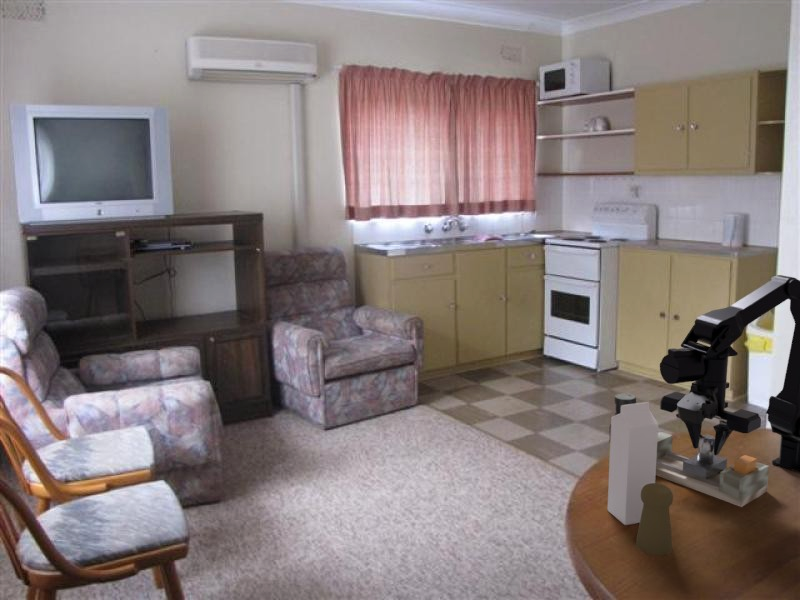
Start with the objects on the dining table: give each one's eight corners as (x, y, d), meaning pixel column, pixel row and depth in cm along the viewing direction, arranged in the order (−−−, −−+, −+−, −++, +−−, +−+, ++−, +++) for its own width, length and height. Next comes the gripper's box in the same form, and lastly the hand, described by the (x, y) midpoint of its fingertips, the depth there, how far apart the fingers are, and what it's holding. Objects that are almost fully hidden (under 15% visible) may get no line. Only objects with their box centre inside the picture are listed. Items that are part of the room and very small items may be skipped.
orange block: (743, 469, 145) (744, 454, 144) (755, 473, 143) (756, 458, 142) (733, 474, 142) (734, 460, 142) (745, 478, 141) (746, 464, 140)
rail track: (659, 454, 163) (660, 431, 162) (766, 491, 145) (769, 465, 144) (632, 466, 157) (633, 442, 156) (741, 507, 139) (743, 480, 138)
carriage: (703, 460, 154) (705, 428, 152) (726, 467, 150) (728, 435, 148) (682, 470, 149) (684, 438, 148) (705, 478, 145) (707, 445, 144)
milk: (653, 521, 134) (660, 407, 130) (624, 525, 133) (630, 411, 128) (634, 505, 140) (640, 396, 136) (606, 510, 138) (611, 400, 134)
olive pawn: (675, 556, 122) (679, 496, 120) (637, 553, 123) (640, 493, 121) (669, 538, 128) (673, 480, 126) (633, 535, 129) (636, 477, 127)
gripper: (646, 375, 148) (642, 447, 151) (735, 398, 134) (729, 477, 137) (677, 365, 155) (673, 434, 158) (765, 385, 140) (758, 461, 143)
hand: (705, 451), depth 149 cm, fingers open, 4 cm apart
